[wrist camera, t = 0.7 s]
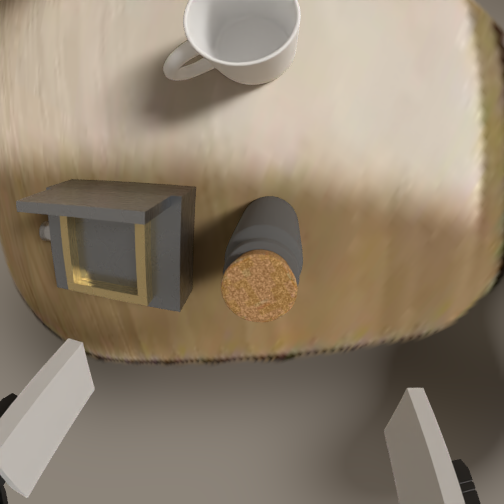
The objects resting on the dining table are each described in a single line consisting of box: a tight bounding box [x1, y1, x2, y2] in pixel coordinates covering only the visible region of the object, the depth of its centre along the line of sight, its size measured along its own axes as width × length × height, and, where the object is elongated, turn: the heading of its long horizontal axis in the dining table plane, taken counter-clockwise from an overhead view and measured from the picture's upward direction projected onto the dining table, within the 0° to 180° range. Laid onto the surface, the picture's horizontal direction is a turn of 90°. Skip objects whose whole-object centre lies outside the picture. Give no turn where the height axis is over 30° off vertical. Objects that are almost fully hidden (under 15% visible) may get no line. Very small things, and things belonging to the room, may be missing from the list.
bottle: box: [221, 196, 303, 322], centre depth 27 cm, size 6×6×15 cm
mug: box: [163, 0, 300, 85], centre depth 23 cm, size 12×8×10 cm
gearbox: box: [16, 179, 196, 312], centre depth 31 cm, size 12×19×11 cm, turn 84°
